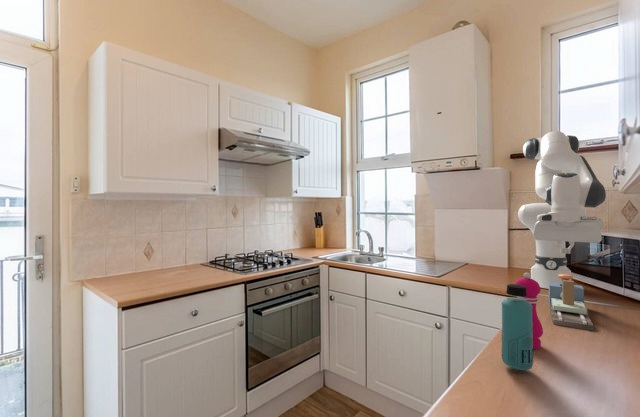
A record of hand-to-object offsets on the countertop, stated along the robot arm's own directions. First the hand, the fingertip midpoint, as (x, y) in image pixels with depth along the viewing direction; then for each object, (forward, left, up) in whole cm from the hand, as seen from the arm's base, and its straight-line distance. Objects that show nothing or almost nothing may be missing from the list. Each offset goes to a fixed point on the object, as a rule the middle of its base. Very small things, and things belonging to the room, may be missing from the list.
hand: (565, 253), depth 119 cm
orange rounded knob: (0, 0, -13) cm, 13 cm away
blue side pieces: (0, 0, -20) cm, 20 cm away
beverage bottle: (+62, -14, -20) cm, 67 cm away
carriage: (+9, 0, -18) cm, 20 cm away
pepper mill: (+45, -12, -20) cm, 51 cm away
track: (+13, 0, -20) cm, 24 cm away
